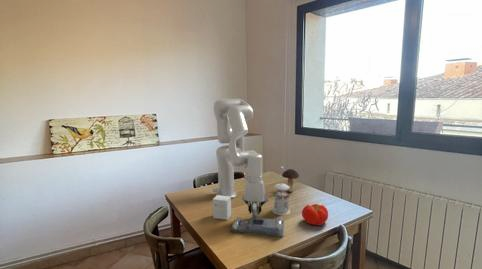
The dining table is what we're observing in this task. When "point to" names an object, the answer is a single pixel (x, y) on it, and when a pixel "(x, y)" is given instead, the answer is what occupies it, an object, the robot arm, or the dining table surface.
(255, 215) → the steel pin
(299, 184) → the dining table surface
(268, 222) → the plate with square hole
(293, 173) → the decorative mushroom
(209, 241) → the dining table surface
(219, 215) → the small box
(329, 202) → the dining table surface
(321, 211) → the tomato
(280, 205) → the french press
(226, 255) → the dining table surface
